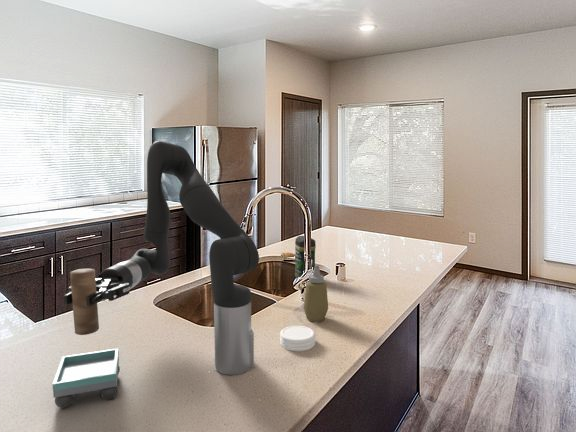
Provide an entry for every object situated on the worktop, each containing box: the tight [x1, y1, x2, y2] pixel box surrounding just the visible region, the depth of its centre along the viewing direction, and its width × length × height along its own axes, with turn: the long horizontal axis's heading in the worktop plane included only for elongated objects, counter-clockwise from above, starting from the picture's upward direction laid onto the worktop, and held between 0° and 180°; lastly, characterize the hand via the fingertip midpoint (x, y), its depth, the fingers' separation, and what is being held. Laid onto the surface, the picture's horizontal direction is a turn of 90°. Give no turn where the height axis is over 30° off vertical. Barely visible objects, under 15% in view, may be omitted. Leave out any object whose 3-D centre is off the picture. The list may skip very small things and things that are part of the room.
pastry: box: [280, 252, 295, 261], centre depth 205 cm, size 9×7×4 cm
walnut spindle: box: [69, 268, 100, 336], centre depth 92 cm, size 5×5×14 cm
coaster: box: [279, 325, 316, 352], centre depth 115 cm, size 10×10×4 cm
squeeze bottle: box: [303, 264, 329, 323], centre depth 131 cm, size 8×8×18 cm
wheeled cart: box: [52, 348, 121, 409], centre depth 91 cm, size 12×12×6 cm
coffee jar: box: [294, 235, 317, 279], centre depth 172 cm, size 10×8×19 cm
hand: (76, 301), depth 89 cm, fingers closed on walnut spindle, 5 cm apart
